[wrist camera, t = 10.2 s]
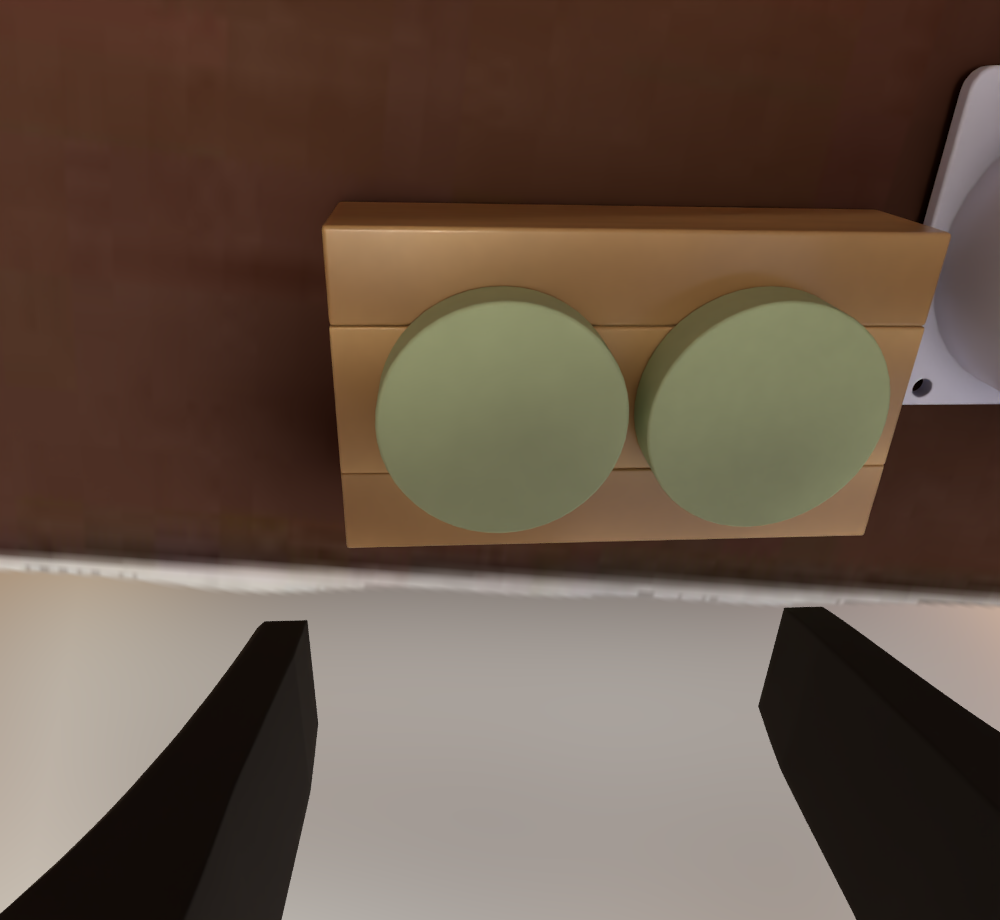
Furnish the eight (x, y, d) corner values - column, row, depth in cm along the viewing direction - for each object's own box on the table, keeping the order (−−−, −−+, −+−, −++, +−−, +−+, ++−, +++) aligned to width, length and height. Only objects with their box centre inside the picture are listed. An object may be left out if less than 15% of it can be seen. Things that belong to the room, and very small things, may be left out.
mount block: (337, 200, 17) (320, 225, 14) (877, 208, 18) (955, 232, 15) (357, 486, 20) (346, 548, 18) (810, 478, 21) (864, 535, 19)
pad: (601, 255, 18) (644, 301, 14) (584, 451, 20) (616, 531, 17) (379, 253, 17) (367, 300, 14) (389, 453, 20) (380, 537, 16)
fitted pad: (827, 256, 18) (922, 301, 15) (784, 447, 21) (857, 525, 17) (617, 254, 18) (663, 300, 14) (598, 449, 20) (634, 530, 17)
